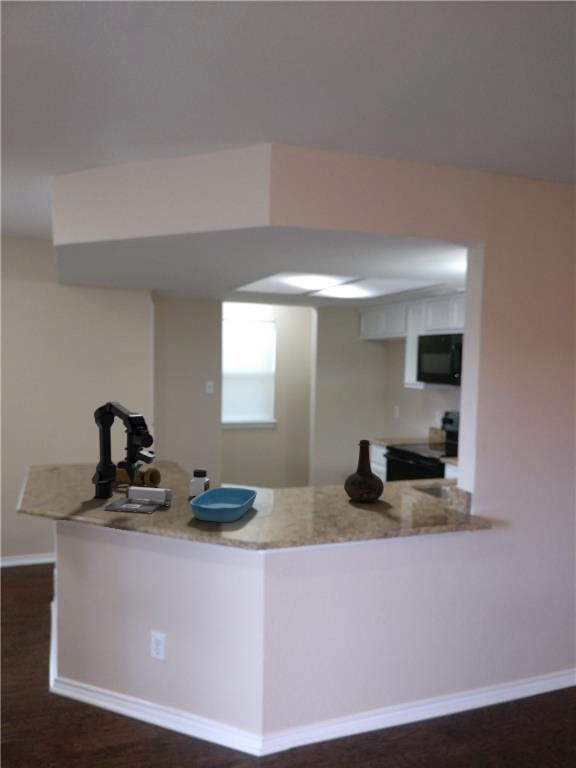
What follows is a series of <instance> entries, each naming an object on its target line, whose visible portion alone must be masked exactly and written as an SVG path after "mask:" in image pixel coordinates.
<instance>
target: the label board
mask: <svg viewBox="0 0 576 768" xmlns="http://www.w3.org/2000/svg"><path fill="white" fill-rule="evenodd" d="M163 504H164V505H171V506H172V500H169V501H163V500H149V499H135V498H126V497H120V498H118V499H116V500H115V501H113V502H111V503H109V504H107V505H105V506H104V510H105V511H113V510H121V511H120V512H126V511H136V512H135V513H140V512H153V511H154V510H155V511H156V509H157V508H158V507H160V506H161V505H162V506H164V505H163ZM162 506H161V507H162ZM161 507H160V508H161ZM158 509H159V508H158ZM158 509H157V510H158ZM155 511H154V512H155ZM154 512H153V513H154Z"/></svg>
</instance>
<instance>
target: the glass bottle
mask: <svg viewBox="0 0 576 768" xmlns="http://www.w3.org/2000/svg"><path fill="white" fill-rule="evenodd" d="M371 445H372V444H371V443H370V440H369V439H360V440H359V443H357V446H359V452H358V462H357V467H356V471H355V472H354V473H351V474H350V475H349V476H348V477H347V478H346V479H345V480H344V484H343V488H344V491H345V493H346V495H347V496H348V497H349V498H350V499H352V500H353V501H355V502H359V503H372V502H376V501H377V500H378V499H379V498H380V497H381V496H382V495H383V492H384V487H385V486H384V482H383V480H382V479H381V478H380V477H379V476H378V475H377V474H375V473H374V472H373V471H372V468H371V461H370V446H371Z"/></svg>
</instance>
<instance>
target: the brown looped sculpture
mask: <svg viewBox="0 0 576 768" xmlns="http://www.w3.org/2000/svg"><path fill="white" fill-rule="evenodd" d="M115 465H116V473H117V474H116V479H115V483H112V486H113V488H117V487H119V486H122V485H128V486H129V485H133V486H138V487H143V486H146V487H147V488H155V487H156V488H158V486H159V485H160V484H161V480H162V475H161V472H160V470H159V469H157V468H156V467H149V468H146V470H140V469H139V470H138V473H137V476H136V479H135V482H131V480H130V478H129V476H128V474H127V472H126V470H125V469H117V464H115ZM116 486H117V487H116Z"/></svg>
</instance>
